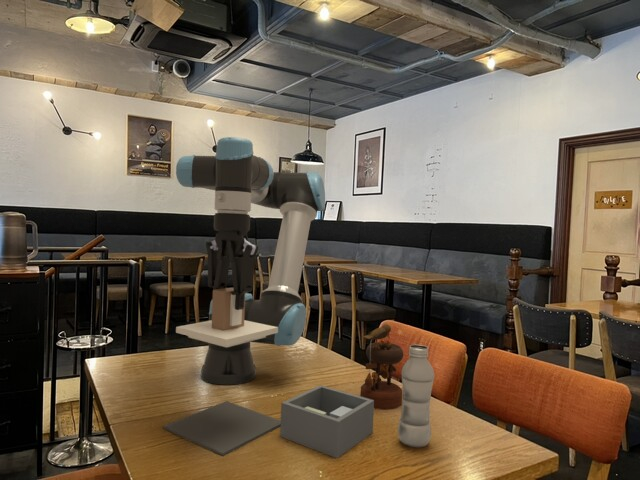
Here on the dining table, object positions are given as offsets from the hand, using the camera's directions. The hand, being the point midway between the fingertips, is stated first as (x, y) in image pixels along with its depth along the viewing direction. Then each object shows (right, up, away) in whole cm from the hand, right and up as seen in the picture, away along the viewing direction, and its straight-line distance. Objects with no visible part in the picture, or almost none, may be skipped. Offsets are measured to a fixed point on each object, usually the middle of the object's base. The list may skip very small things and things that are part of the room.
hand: (228, 322), depth 98 cm
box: (+21, -23, -1) cm, 31 cm away
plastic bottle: (+39, -24, -4) cm, 46 cm away
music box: (+35, -23, +19) cm, 47 cm away
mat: (-1, -22, +1) cm, 22 cm away
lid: (0, -2, 0) cm, 2 cm away
